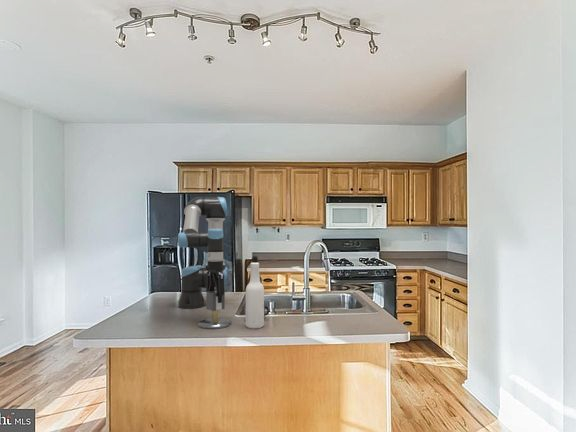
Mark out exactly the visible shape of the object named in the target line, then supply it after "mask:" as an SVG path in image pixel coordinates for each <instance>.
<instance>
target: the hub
mask: <svg viewBox="0 0 576 432" xmlns="http://www.w3.org/2000/svg"><path fill="white" fill-rule="evenodd" d="M232 324H233V320H231V319H230V318H224V317H219V310H216V311H211V318H205V319H201V320H200V321H198V322H197V327H199V328H200V329H205V330H206V329H207V330H218V329H219V330H220V329H224V328H225V329H226V328H229V327H230V326H232Z"/></svg>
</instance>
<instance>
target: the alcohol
mask: <svg viewBox="0 0 576 432" xmlns="http://www.w3.org/2000/svg"><path fill="white" fill-rule="evenodd" d="M260 276H261V275H260V262H258V263H252V262H251V263H250V275H249V277H250V282H249V284H248V283H247V285H246V288H245V327H246V328H247V329H251V330H252V329H254V330H255V329H261V328H263V327H264V325H265V319H264V301H265V288H264V285H263V284H261V282H260Z"/></svg>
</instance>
